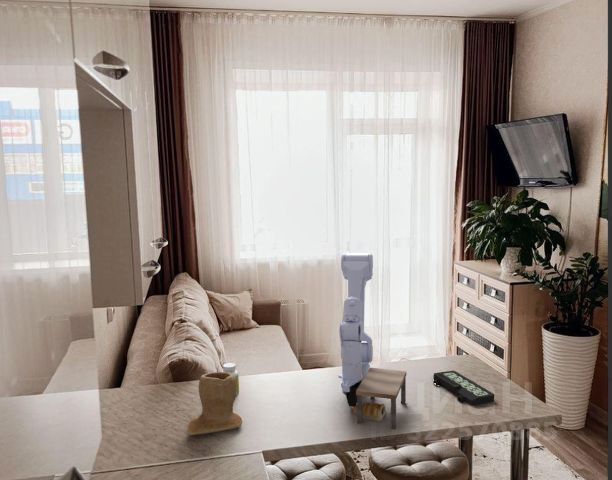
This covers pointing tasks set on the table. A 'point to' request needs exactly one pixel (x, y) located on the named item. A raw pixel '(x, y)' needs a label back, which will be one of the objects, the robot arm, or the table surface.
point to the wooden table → (382, 389)
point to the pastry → (372, 411)
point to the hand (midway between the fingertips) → (352, 405)
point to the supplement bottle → (231, 369)
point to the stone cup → (216, 404)
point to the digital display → (463, 388)
